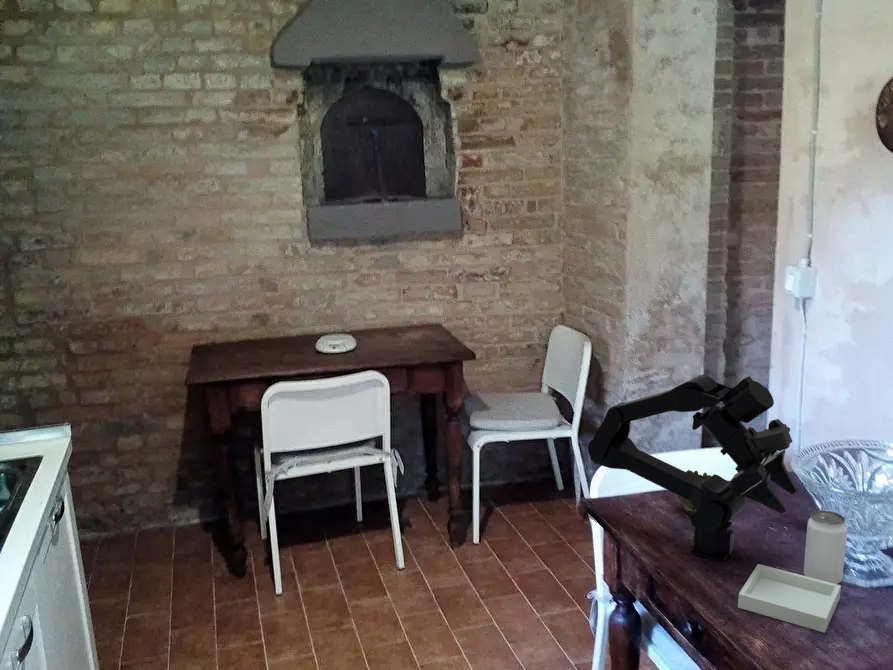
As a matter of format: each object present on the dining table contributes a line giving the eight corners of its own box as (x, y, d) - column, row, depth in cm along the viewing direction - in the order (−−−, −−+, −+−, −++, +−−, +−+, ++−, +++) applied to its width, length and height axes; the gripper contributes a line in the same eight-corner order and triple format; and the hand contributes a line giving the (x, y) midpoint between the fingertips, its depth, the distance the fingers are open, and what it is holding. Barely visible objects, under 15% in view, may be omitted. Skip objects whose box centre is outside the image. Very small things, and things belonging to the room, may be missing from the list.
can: (824, 565, 158) (829, 506, 155) (850, 582, 152) (856, 521, 149) (795, 572, 156) (800, 512, 153) (821, 589, 150) (826, 527, 147)
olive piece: (668, 512, 181) (669, 478, 179) (683, 500, 186) (685, 467, 184) (701, 522, 176) (703, 486, 174) (716, 509, 181) (718, 475, 179)
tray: (737, 607, 145) (738, 593, 144) (757, 576, 154) (758, 563, 154) (824, 632, 137) (826, 618, 136) (839, 598, 147) (840, 585, 146)
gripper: (752, 426, 145) (816, 499, 142) (776, 396, 160) (834, 461, 157) (704, 460, 151) (764, 531, 148) (732, 427, 166) (786, 491, 163)
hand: (789, 502), depth 154 cm, fingers open, 9 cm apart
